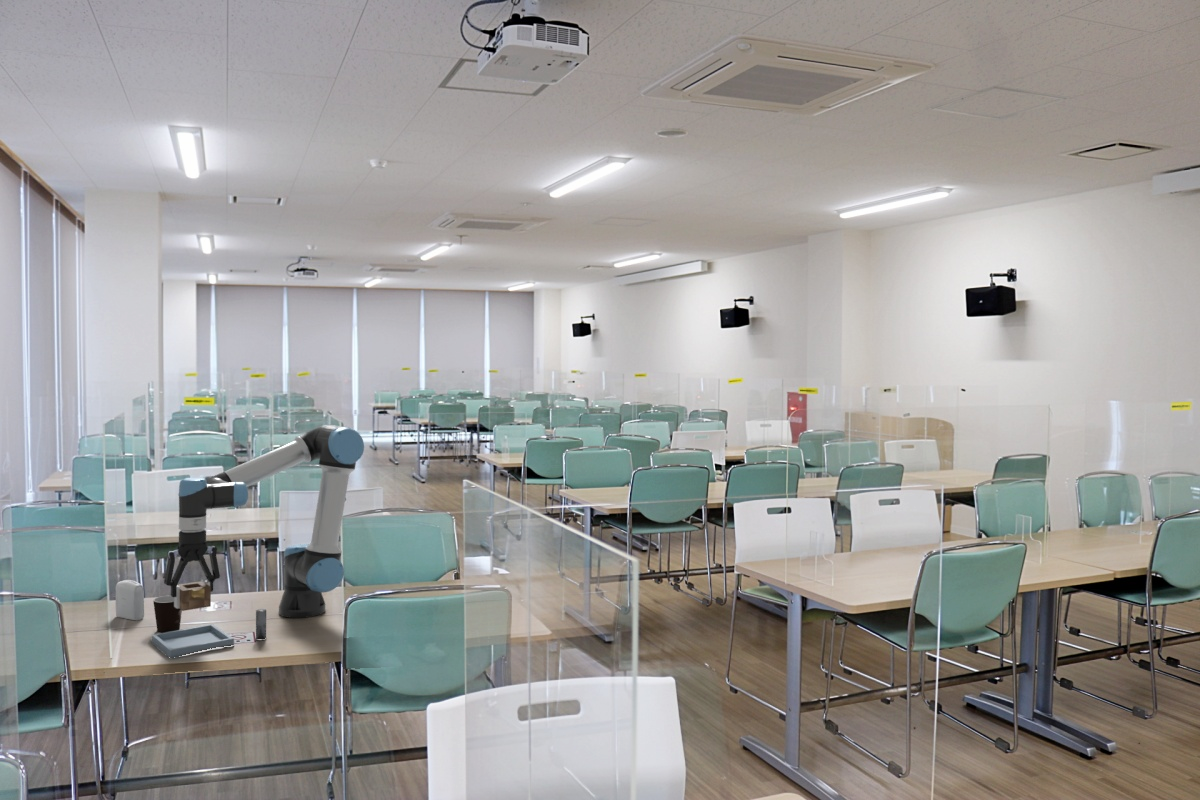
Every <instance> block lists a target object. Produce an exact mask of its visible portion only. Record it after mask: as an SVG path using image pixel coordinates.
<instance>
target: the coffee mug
mask: <svg viewBox="0 0 1200 800" xmlns="http://www.w3.org/2000/svg"><path fill="white" fill-rule="evenodd" d="M152 602H153V608H154V610H153V611H154V617H155V622H156V624H155V625H156V631H157V632H158V634H159V633H165V632H171V631H176V630H181V629H180V628H181V621H182V612H183V611H182V610H181V609H179V608H178V609H177V608H175V607H174V597H172V596H171V594H167V595H162V596H161V595H160V596H156V597H154V598H153V600H152Z"/></svg>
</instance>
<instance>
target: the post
mask: <svg viewBox="0 0 1200 800" xmlns="http://www.w3.org/2000/svg"><path fill="white" fill-rule="evenodd" d="M265 638H266V639H267V609H266V608H265V609H264V608H260V609H256V610H255V640H256V639H265Z"/></svg>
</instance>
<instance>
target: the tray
mask: <svg viewBox="0 0 1200 800" xmlns="http://www.w3.org/2000/svg"><path fill="white" fill-rule="evenodd" d="M151 644H153V645H154V647H156V648H157V649H158V650H159V651H160V652H161V653H163V654H164V655H165V654H166V655H167V656H166V655H165V656H166V657H168V658H169V657H170V658H173V659H175V658H174V657H178V658H180V657H179V656H182V655H186V654H190V653H194V652H198V651H202V650H207V649H210V648H211V649H212V648H216V647H224V646H231V645H234V646H235V638H234V637H232V636H231V635H230V634H228V633H227V632H225V631H224V630H222V629H221V628H219V627H218V626H217V625H215V624H213V623H211V624H205V625H199V626H195V627H189V628H183V629H179V630H176V631H171V632H165V633H159V632H158V633H156V634H151ZM170 658H169V659H170Z"/></svg>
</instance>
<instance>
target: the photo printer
mask: <svg viewBox="0 0 1200 800" xmlns="http://www.w3.org/2000/svg"><path fill="white" fill-rule="evenodd" d="M144 593H145V591H144V586H143V585H142V584H141V583H139V582H137V581H135V580H133V579H132V580H131V579H125V580H124V579H123V580H121V581H118V582H117V583H116V584H115V616H116V617H117V618H121V619H126V620H130V621H140V620H142V619H143V618H144V617H145V594H144Z"/></svg>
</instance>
